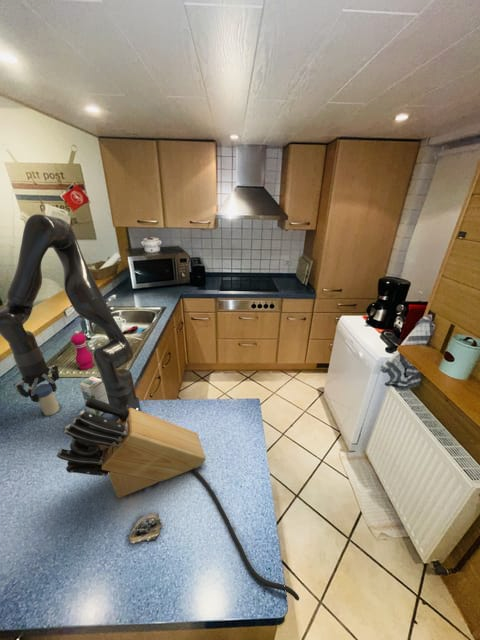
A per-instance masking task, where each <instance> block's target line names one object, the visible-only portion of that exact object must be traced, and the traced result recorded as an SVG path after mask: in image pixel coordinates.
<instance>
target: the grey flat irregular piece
mask: <svg viewBox="0 0 480 640" xmlns="http://www.w3.org/2000/svg"><path fill="white" fill-rule="evenodd" d="M159 517H160V513H158V512H157V513H149V514H146V515H143V516H141V518H138V520H137V521H136V522H135V524H134V526H133V528H132V529H131V532H130V533H129V535H128V541H130V543H132V545H135V543H140V542H141V541H142V542H144V541H145V540H147V542H148V541H150V540H156V539H157V538H158V536H159V534H160V533H161V528H162V526H163V523H162V519H161V518H159Z"/></svg>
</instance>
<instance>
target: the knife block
mask: <svg viewBox="0 0 480 640" xmlns="http://www.w3.org/2000/svg"><path fill="white" fill-rule="evenodd" d="M84 406H85V407H86V408H87V407H88V408H91V409H94V410H98V411H101V412H104V413H103V414H108V415H111V416H112V415H115V416H118V417H119V418H120V419H119V420H118V421H117V422H115V421H114V420H112V419H111V418H107V417H105V416H102V415H101V416H98V415H94V414H90V413H88V411H87V410H84V409H82V410H81V411H80V412H79V413H78V414H77V415H76V417H75V418H74V420H73V421H72V422H71V423H68V424H67V425H65V426H64V427H63V429H62V433H64V434H65V435H68V436H69V437H71V438H72V440H71V442H70V444H69V448H70V449H65V448H60V450H59V451H58V452H57V453H56V457H57V458H59V459H60V460H63V461H66V464H67V466H65V467H66V468H65V471H66V472H67V473H69V474H71V473H73V474H74V473H75V474H82V475H88V476H99V477H106V476H108V475H109V479H110V482H111V485H112V487H113V490H114V492H115V495H116V498H117V499H120V498H123V497H125V496H127V495H130V494H133V493H136V492H139V491H140V490H143V489H145V488H148V487H150V486H153V485H155V484H157V483H159V482H164V481H166V480H169V479H172V478H174V477H177V476H179V475H182V474H184V473H187V472H190V471H191V470H192V469H195V470H196V469H197V468H199V467H201V466H202V465H203V463H205V461H206V459H207V458H206V455H205V451H204V449H203V446H202V442H201V440H200V437H199V433H198V432H196V431H193V430H190V429H189V428H185V427H183V426H180V425H178V424H176V423H172V422H170V421H168V420H164V419H162V418H159V417H157V416H154V415H151V414H149V413H146V412H144V411H142V410H141V411H138V410H136V409H133V408H129V409H128V410H126V409H125V410H124V411H122V410H119V409H117V408H116V407H114V406H112V405H110V404H107V403H105V402H102V401H99V400H96V399H92V398H89V399H88V400H87V401H86V404H85V403H84Z"/></svg>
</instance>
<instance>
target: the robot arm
mask: <svg viewBox="0 0 480 640" xmlns="http://www.w3.org/2000/svg"><path fill="white" fill-rule="evenodd" d="M19 249H20V250H19V255H18V260H17V265H16V269H15V273H14V275H13V278H12V280H11V282H10V284H9V287H8V290H7V292H6V299H7V302H6V305H5V306H4V307H3V308H2V309H1V310H0V336H1V337H2V338H3V339H4V340H5V341H6V342H7V343H8V346H9V348H10V350H11V352H12V355H13V359H14V362H15V365H16V367H17V368H18V370H19V373H20V375H21V380H20V381H19V382H18V383H14V384H13V388H15V390H16V391H17V392H18V393H19V395H20V396H21V397H24V398H30V400H31V401H32V402H34V403H39V400H38V397H37V395H36V394H35V390H36V388H37V387H38V386H39V385H41V383H44V382H45V381H46V382H47V384H51V386H52V388H53V393H55V392H57V388H58V387H57V385H56V381H58V380H59V379H60V374H59V366H58V365H56V364H53V363H52V364H51V365H50V366H48V365H47V362H46V360H45V357H44V354H43V352H42V350H41V348H40V346H39V344H38V343H37V342H38V341H37V340H36V336H35V335H34V333H33V332H32V331H30V330H26V329H25V328H24V324H25V323H26V322H27V321H28V320H29V319H30V317H31V314H32V312H33V307H34V303H35V301H36V299H37V297H38V295H39V292H40V290H41V289H42V284H43V273H42V262H43V258H44V257H45V255H46V253H47V251H48V250H49V249H53V250H54V252H55V253H56V255H57V257H58V259H59V261H60V263H61V266H62V268H63V288H64V292H65V295H66V297H67V299H68V301H69V303H70V305H71V306H72V308H73V310H74V311H75V312H76V314H78V315H79V316H80V317H82V318H84V319H85V320H87V321H88V322H90V323H92V324H94V325H95V326H97V327H98V328H99V329H101V330H102V331H103V333H104V334H105V335H106V337H107V339H108V340H109V341H107V342H106V343H103V344H101V345H100V346H98V347H96V348H94V350H93V353H92V356H93V360H94V363H95V366H96V368H97V371H98V374H99V377H100V379H101V380H102V382H103V384H104V387H105V391H106V395H107V399H108V403H109V404H110V405H112V406H114V407H116V408H117V409H119V410H122V411H124V410H125V409H126V410H128V409H129V408H133V409H136V410H138V411H141V412H142V409H141V405H140V400H139V397H137V394H136V388H135V384H134V379H133V375H132V372H131V371H130V370H128V369H125V368H120V367H122V366H124V365H125V364H127V363H128V362H129V363H130V361H131V360H133V357H134V352H133V351H134V350H133V349H132V345H131V344H130V341H128V339H127V337H126V335H125V334H124V333H123V331H122V329H121V327H120V325H119V324H118V323H117V321H116V320H115V318H114V316H113V314H112V312H111V310H110V308H109V306H108V304H107V302H106V300H105V298H104V295H103V294H102V292H101V289H100V288H99V286H98V283H97V282H96V280H95V279H94V276H93V274H92V272H91V270H90V268H89V266H88V264H87V262H86V260H85V258H84V255H83V253H82V250H81V248H80V244H79V241H78V239H77V237H76V235H75V232H74V230H73V228H72V227H71V225H70V224H69V223H68V222H67V221H65V220H64V219H62V218H60V217H54V216H49V215H47V214H42V213H41V214H39V213H36V214H32V215H31V216H29V217H28V218H27V220H26V222H25V225H24V227H23V232H22V238H21V244H20V248H19ZM50 372H51V373H50ZM49 373H50V374H51V377H50V376H49ZM25 384H27V385H26V388H27V390H26V389H25ZM111 416H112V419H113V421H115V422H117V421H118V420H119V419H120V418H119V417H118V416H115V415H112V414H111ZM190 471H191V472H192V473H193V474H194V475H195V476H196V477H197V478H198V479H199V480H200V481H201V482H202V484H203V485H204V486H205V488H206V489H207V491H208V492H209V494H210V495H211V497H212V499H213V500H214V502H215V504H216V506H217V508H218V510H219V512H220V514H221V516H222V518H223V520H224V523H225V524H226V527H227V529H228V531H229V533H230V535H231V537H232V539H233V541H234V543H235V545H236V548H237V549H238V551H239V553H240V556H241V558H242V560H243V562H244V564H245V566H246V568H247V570H248V571H249V572H250V574H251V575H252V577H253V578H255V580H257V582H259V583H260V584H262V585H263V586H265V587H268V588H271V589H275V590H279V591H283V592H285V590H286V593H288V594H289V595H290V596H292V597H293V598H294V600H295V601H300V596H299V594H298V593H297V592H296V591H295V590H294V589H293V588H292V587H290V586H288V585H286V584H283V583H278V582H273V581H270V580H267V579H265V578H263V577H262V576H261V575H260V574H259V573H258V572H256V570H255V569H254V568H253V566H252V565H251V563H250V561H249V559H248V557H247V555H246V552H245V550H244V549H243V546H242V543H241V542H240V540H239V538H238V537H237V535H236V533H235V530H234V528H233V526H232V524H231V522H230V520H229V517H228V516H227V514H226V512H225V510H224V508H223V506H222V504H221V502H220V501H219V499H218V497H217V495H216V493H215V492H214V490H213V489H212V487H211V486H210V485H209V483H208V482H207V481H206V479H205V478H204V477H203V475H201V473H199V471H198V470H196V468H195V469H192V470H190ZM284 585H285V587H284Z"/></svg>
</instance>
